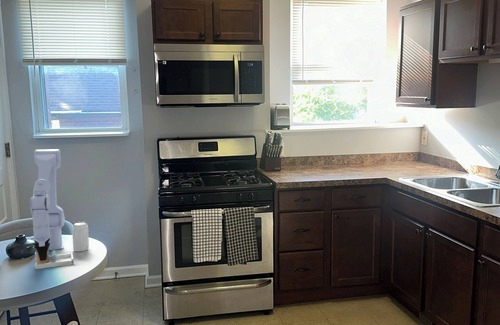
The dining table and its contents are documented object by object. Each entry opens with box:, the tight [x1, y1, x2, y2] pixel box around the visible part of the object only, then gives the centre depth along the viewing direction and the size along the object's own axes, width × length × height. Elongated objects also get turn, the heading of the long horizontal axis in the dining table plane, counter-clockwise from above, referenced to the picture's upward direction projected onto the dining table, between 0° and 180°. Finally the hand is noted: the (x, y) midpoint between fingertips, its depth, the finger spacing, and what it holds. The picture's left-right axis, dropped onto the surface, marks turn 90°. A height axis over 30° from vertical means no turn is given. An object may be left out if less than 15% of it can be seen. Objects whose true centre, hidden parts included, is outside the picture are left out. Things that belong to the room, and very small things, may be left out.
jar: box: [35, 249, 50, 264], centre depth 174 cm, size 4×4×6 cm
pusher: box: [51, 249, 56, 262], centre depth 176 cm, size 6×1×4 cm, turn 25°
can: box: [71, 221, 90, 253], centre depth 191 cm, size 6×6×12 cm
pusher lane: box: [34, 251, 74, 270], centre depth 176 cm, size 9×14×2 cm, turn 115°
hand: (43, 258), depth 174 cm, fingers closed on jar, 4 cm apart
